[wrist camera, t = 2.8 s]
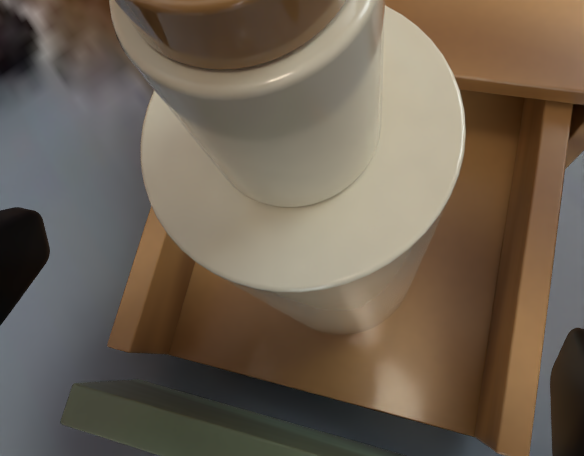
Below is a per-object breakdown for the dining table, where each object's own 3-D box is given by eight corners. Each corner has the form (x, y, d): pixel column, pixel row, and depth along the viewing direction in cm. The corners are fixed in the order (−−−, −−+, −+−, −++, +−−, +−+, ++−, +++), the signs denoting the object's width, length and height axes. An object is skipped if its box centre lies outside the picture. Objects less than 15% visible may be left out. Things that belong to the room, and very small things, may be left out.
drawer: (480, 681, 15) (520, 801, 11) (89, 537, 17) (3, 588, 13) (559, 89, 19) (608, 15, 15) (235, 49, 22) (204, -21, 18)
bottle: (360, 365, 17) (282, 367, 3) (243, 281, 18) (-198, -1, 4) (441, 243, 17) (714, -258, 3) (322, 171, 19) (170, -393, 5)
